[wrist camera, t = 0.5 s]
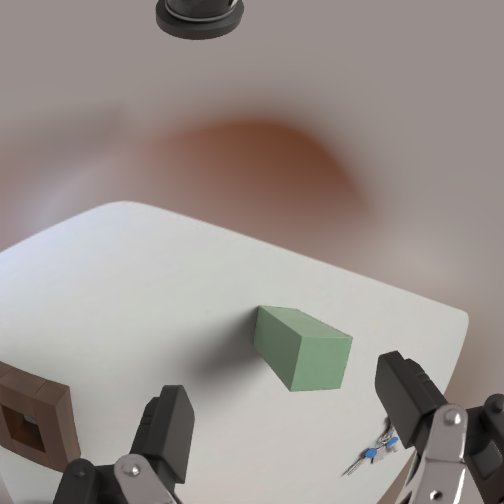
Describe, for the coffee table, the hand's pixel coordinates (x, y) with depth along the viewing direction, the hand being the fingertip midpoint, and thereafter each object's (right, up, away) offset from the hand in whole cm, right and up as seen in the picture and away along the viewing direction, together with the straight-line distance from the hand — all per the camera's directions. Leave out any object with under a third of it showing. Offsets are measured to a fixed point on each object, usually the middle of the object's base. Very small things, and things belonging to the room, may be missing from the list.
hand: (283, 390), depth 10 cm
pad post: (+1, -2, +17) cm, 17 cm away
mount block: (-26, -13, +10) cm, 31 cm away
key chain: (+20, -24, +22) cm, 38 cm away
